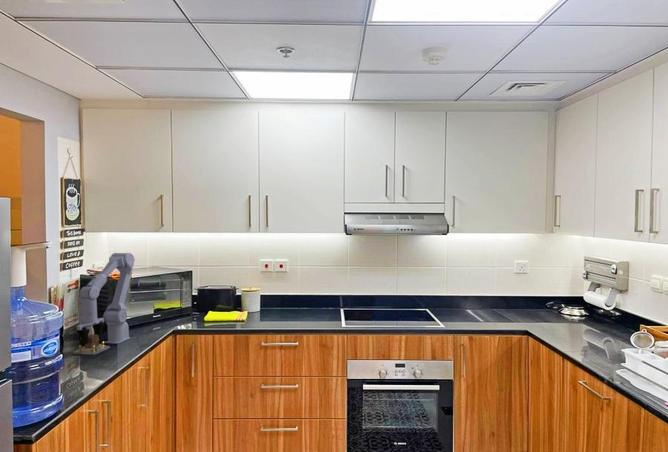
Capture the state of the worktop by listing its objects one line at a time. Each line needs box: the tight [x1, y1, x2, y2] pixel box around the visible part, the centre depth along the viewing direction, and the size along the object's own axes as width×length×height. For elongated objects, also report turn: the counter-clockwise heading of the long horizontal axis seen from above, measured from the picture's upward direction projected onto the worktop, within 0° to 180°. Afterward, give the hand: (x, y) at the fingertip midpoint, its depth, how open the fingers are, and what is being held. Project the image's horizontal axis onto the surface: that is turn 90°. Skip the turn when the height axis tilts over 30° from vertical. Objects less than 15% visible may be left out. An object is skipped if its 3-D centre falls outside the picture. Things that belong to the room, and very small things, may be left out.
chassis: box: [73, 341, 111, 356], centre depth 207 cm, size 10×11×4 cm
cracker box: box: [77, 296, 94, 341], centre depth 233 cm, size 14×6×21 cm, turn 23°
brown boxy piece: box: [81, 335, 105, 352], centre depth 207 cm, size 8×9×6 cm
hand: (91, 341), depth 207 cm, fingers open, 7 cm apart
